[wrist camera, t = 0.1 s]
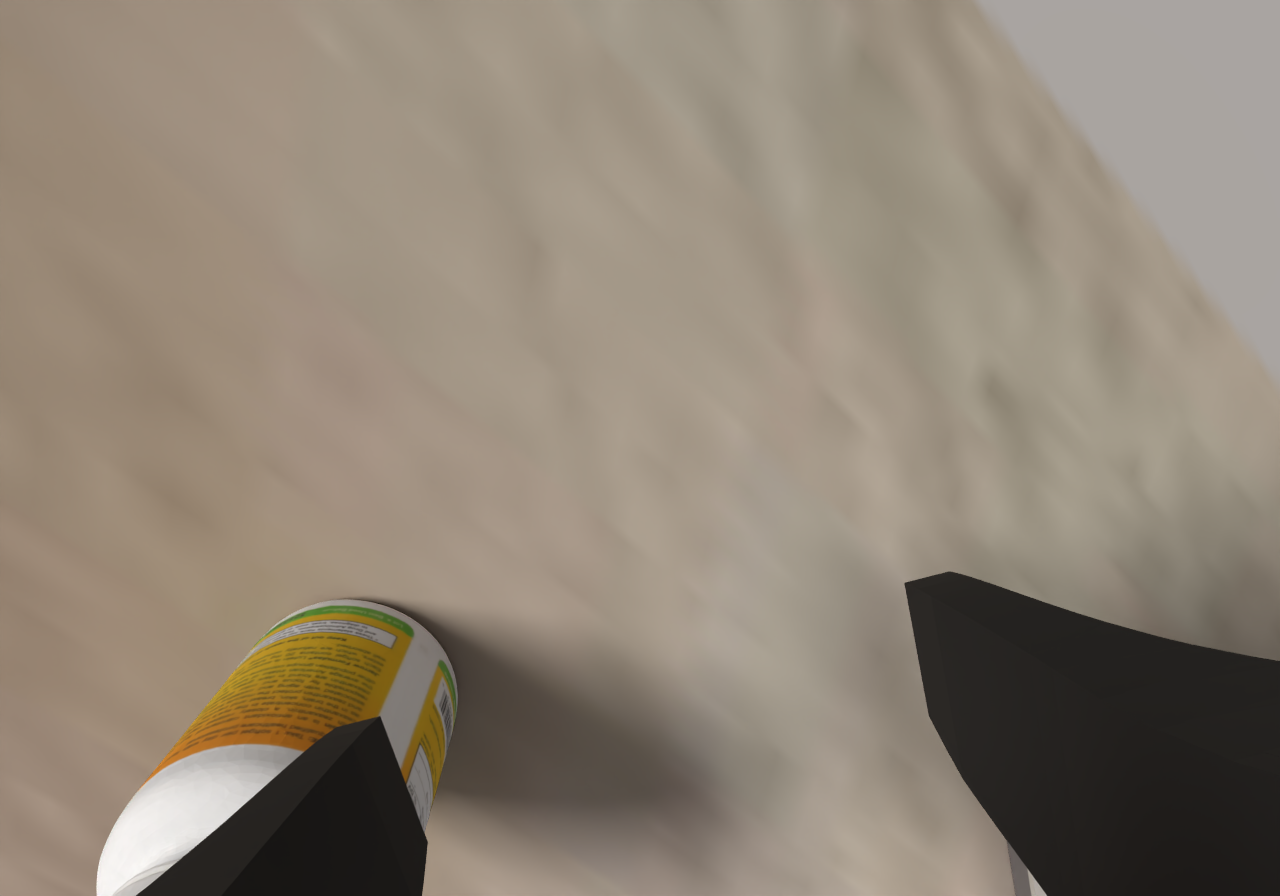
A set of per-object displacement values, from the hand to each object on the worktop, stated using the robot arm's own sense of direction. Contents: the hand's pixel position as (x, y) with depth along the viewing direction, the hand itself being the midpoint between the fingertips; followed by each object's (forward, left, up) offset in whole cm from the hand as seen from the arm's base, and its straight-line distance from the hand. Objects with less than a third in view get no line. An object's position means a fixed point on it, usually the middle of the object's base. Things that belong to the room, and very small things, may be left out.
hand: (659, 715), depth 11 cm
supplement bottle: (-3, +8, -10) cm, 14 cm away
